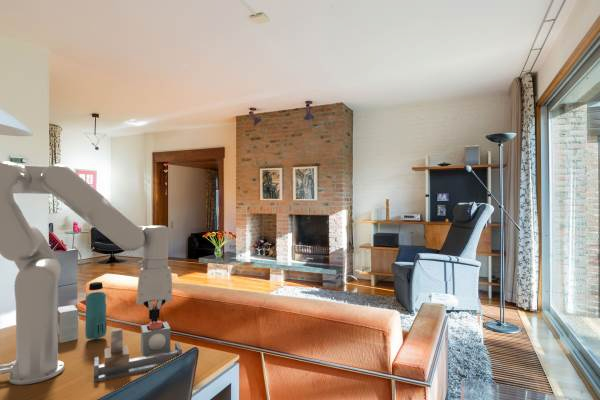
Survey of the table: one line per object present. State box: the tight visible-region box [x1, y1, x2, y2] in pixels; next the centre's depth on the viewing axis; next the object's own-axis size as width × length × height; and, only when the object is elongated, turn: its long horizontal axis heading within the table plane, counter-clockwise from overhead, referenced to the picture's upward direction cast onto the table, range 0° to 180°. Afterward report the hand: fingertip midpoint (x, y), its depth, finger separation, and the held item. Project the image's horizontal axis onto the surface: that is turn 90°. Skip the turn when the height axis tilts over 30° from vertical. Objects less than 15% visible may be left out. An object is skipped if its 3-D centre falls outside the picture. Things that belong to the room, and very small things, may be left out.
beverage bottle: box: [84, 281, 108, 340], centre depth 125 cm, size 6×7×20 cm
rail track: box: [93, 342, 183, 383], centre depth 105 cm, size 23×8×4 cm, turn 119°
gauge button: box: [148, 320, 163, 331], centre depth 115 cm, size 4×4×3 cm
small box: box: [58, 304, 79, 344], centre depth 126 cm, size 8×6×10 cm
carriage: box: [104, 327, 130, 369], centre depth 102 cm, size 6×7×9 cm
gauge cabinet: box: [140, 321, 171, 357], centre depth 115 cm, size 8×7×8 cm
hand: (154, 320), depth 115 cm, fingers closed
